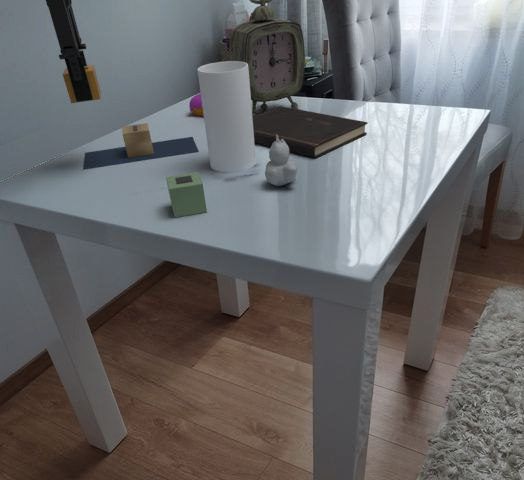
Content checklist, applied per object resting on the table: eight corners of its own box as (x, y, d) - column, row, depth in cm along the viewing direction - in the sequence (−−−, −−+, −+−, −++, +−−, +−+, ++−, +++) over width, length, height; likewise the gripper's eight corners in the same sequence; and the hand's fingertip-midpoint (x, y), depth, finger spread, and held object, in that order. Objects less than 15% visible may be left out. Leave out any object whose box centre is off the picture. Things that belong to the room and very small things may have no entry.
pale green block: (174, 217, 76) (168, 188, 74) (171, 204, 80) (165, 176, 77) (207, 212, 77) (202, 182, 74) (202, 199, 81) (198, 171, 78)
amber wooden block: (71, 103, 87) (62, 73, 84) (72, 96, 91) (64, 68, 88) (100, 99, 88) (92, 69, 85) (100, 92, 91) (93, 64, 89)
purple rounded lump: (214, 104, 124) (212, 84, 121) (243, 110, 119) (241, 89, 116) (182, 115, 119) (179, 94, 116) (211, 122, 113) (208, 100, 110)
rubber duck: (282, 175, 86) (280, 126, 81) (308, 185, 82) (307, 134, 77) (257, 184, 84) (253, 134, 79) (283, 195, 80) (280, 143, 75)
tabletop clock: (249, 123, 110) (237, -17, 94) (231, 114, 117) (217, -19, 101) (305, 110, 115) (303, -26, 99) (285, 102, 121) (280, -27, 105)
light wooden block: (128, 158, 97) (122, 133, 94) (127, 150, 101) (121, 126, 98) (154, 154, 98) (148, 129, 95) (152, 146, 102) (147, 122, 99)
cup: (255, 173, 88) (247, 70, 78) (208, 176, 88) (194, 74, 78) (256, 156, 94) (249, 59, 84) (213, 159, 95) (200, 63, 84)
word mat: (83, 172, 95) (82, 169, 94) (85, 155, 102) (84, 152, 102) (199, 154, 98) (199, 151, 97) (192, 139, 105) (192, 136, 105)
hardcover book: (281, 117, 112) (280, 106, 111) (366, 134, 99) (367, 122, 98) (228, 137, 104) (227, 125, 103) (314, 159, 91) (314, 146, 90)
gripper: (59, -80, 68) (106, 106, 83) (68, -77, 81) (107, 82, 96) (1, -75, 67) (59, 112, 82) (20, -72, 80) (67, 88, 95)
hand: (85, 96), depth 89 cm, fingers closed on amber wooden block, 5 cm apart
